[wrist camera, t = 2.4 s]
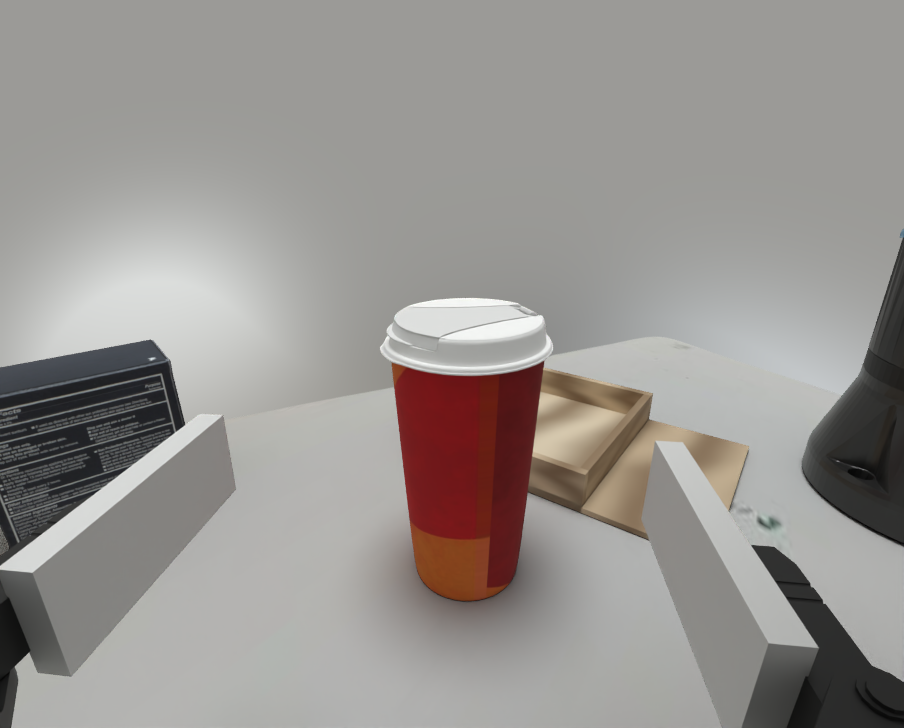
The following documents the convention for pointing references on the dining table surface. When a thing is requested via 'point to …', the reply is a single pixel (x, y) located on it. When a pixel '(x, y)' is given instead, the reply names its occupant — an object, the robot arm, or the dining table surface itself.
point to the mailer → (613, 450)
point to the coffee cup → (467, 435)
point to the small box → (78, 427)
